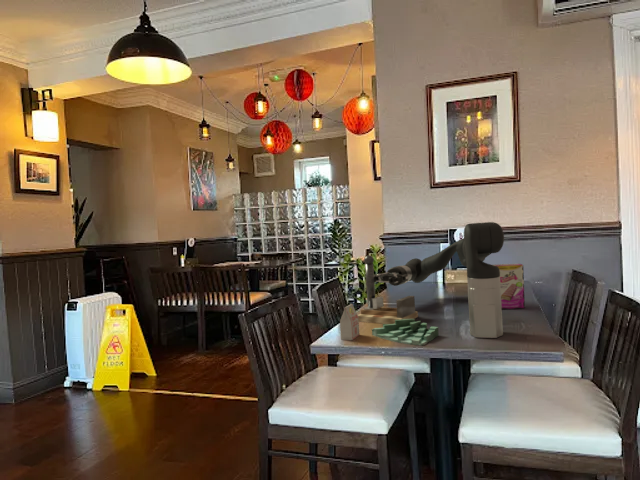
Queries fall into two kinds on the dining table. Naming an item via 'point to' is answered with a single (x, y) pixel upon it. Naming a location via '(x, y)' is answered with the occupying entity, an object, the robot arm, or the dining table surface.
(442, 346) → the dining table surface
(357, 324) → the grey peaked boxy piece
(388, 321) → the press bench
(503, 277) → the candy bar box
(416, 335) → the money
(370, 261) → the handle
